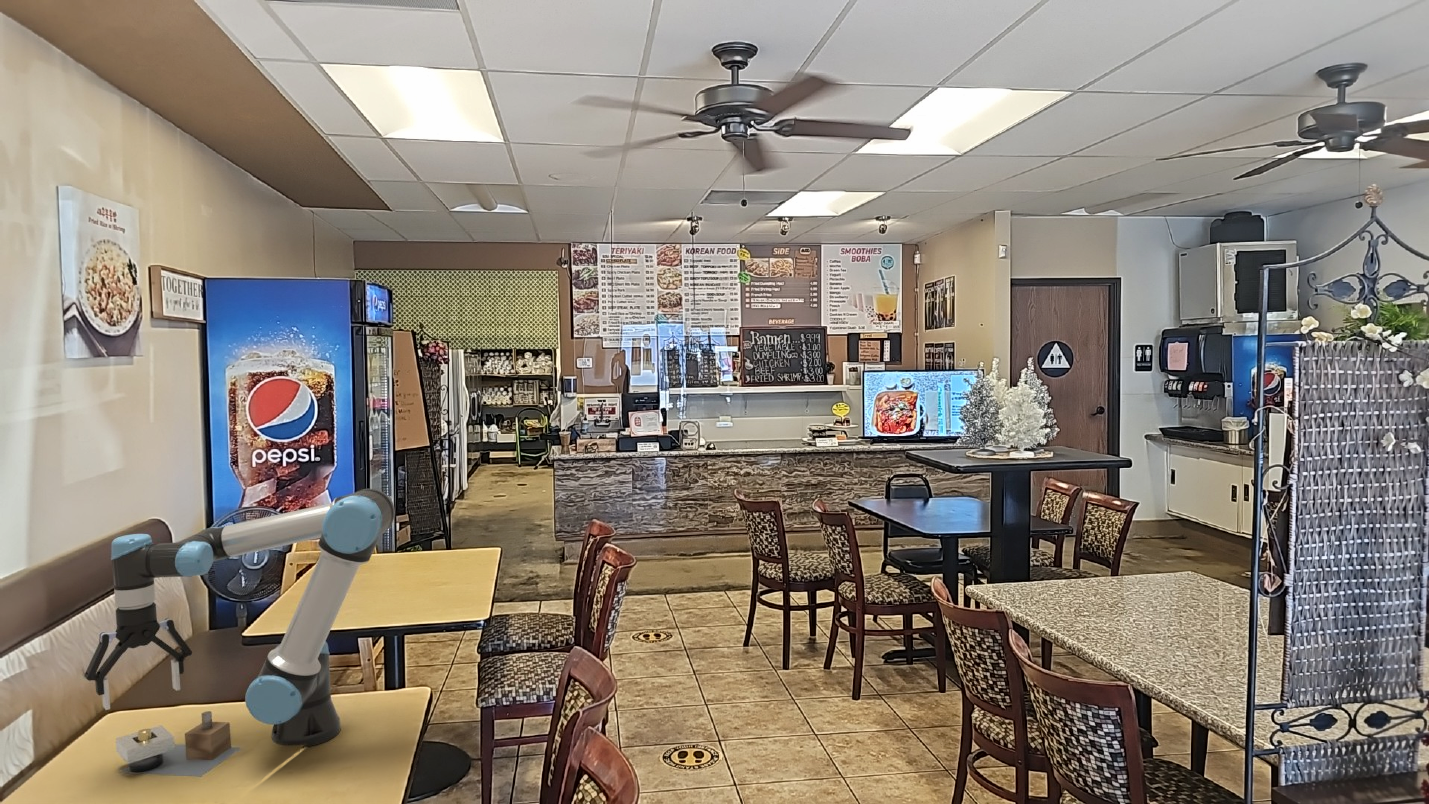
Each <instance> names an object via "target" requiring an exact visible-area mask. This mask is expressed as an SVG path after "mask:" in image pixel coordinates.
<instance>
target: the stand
mask: <svg viewBox="0 0 1429 804" xmlns="http://www.w3.org/2000/svg"><path fill="white" fill-rule="evenodd" d="M212 714H213V713H212V711H209V710H208V711H204V712H202V713H201V723H200V724H198V725H196V726H195V727H192V729H190V730H188V731H187V732H185V733H184V743H185V744H184V745H186V759H196V760H213V759H215V758H216V757H218V756H219V755H221V754H222V753H224V752H225V751H226V750H228V749H229V748H231V747H232V742H231V739H232V737H231V726H230V724H231V723H230V722H226V721H224V722H223V721H213V716H212Z"/></svg>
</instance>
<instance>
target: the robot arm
mask: <svg viewBox="0 0 1429 804" xmlns="http://www.w3.org/2000/svg"><path fill="white" fill-rule="evenodd" d="M395 515H396V512H395V506H394V503H393V501H392V499H391V498H390V497H389V495H387V494H386V493H385V492H384V491H381V490H379V489H375V488H364V489H359V490H358V491H355V492H352V493H350V494H347V495H343V496H337V497H335V498H334V499H333V501H332V502H330V503H326V504H321V505H316V506H312V507H306V508H302V509H298V510H294V511H290V512H289V511H288V512H284V513H279V514H275V515H271V516H265V517H262V518H257V519H252V520H247V521H243V522H237V523H234V524H229V525H225V526H220V527H219V526H213V527H208V528H205V529H202V530H200V531H199V532H197V533H195V534H193V535H191V536H189V537H185V538H184V539H182V540H179V541H176V542H166V543H165V542H163V543H157V542H156V543H154V542H153V540H152V537H151V535H150V534H147V533H133V534H126V535H122V536H119V537H116V538H114V539H113V541H111V558H110V561H111V565H112V566H111V567H112V577H113V578H112V579H113V589H114V590H113V591H114V606H115V607H116V609H115V621H116V623H115V624H116V630H115V632H104V631H103V632H101V633H100V634H99V639H98V644H97V646H96V649H95V651H94V653H93V655H92V657H91V660H90V662H89V665H88V666H87V668H86V670H85V673H84V675H83V676H84V678H85V679H86V680H87V681H89V682H90V681H94V683H95V693H96V694H97V695H98V696H101V699H102V701H101V702H102V708H103V709H105V711H107V710H111V701H110V700H111V699H110V688H109V687H110V686H109V679H108V678H107V677H106V676H107V675H108V674H109V673H110V671H111V670H112V668H113V667H114V666H115V664H116V663H117V662H118V661H119V659H120V657H122V655H123V654H124V653H125V652H126V651H127V650H128V649H136V648H138V647H144V646H145V647H146V646H148V645H149V644H151V642H152V643H153V644H156V646H158V647H159V648H160V649H162V650H163V651H165V652H166V653H167V654H169V655H171V656H172V657H173V658H174V659H171V660H170V665H171V667H170V668H171V681H172V682H171V683H172V689H174V690H175V691H176V692H177V691H180V690H181V677H180V675H182V674H184V671H185V669H184V668H185V665H184V661H185V659H186V658H187V657H188V656H192V654H193V651H192V650H191V648H190V647H189V645H188V644H187V643H186V641H185V640H184V639H183V638H182V636H181V635H180V634H179V632H178V630H177V629H176V627H175V622H174V620H173V619H172V618H169V617H167V618H165V619H164V620H161V621H159V622H158V617H157V615H158V614H157V604H156V603H155V600H156V590H155V579H159V578H179V577H187V578H193V577H195V576H196V577H197V576H203V575H206V574H207V573H208V572H209V571H210V569H211V568H212V566H213V563H214V562H216V561H221V560H225V559H230V558H233V557H237V556H243V555H247V554H251V553H252V554H253V553H256V552H260V551H265V550H270V549H274V548H280V547H283V546H288V545H293V544H297V543H302V542H307V541H311V540H316V539H319V540H318V543H317V546H318V549H319V550H320V555H319V557H318V560H317V562H316V564H315V567H314V568H313V571H312V573H311V576H310V577H309V580H308V582H307V584H306V586H305V589H304V591H303V592H302V593H303V594H302V595H301V598H300V600H299V602H298V605H297V607H296V609H295V611H294V613H293V615H292V618H291V620H290V622H289V624H288V627H287V629H286V631H285V633H284V636H283V638H282V640H281V643H280V644H278V645H277V646H276V647H275V648H274V649H272V650H270V651H269V652H268V654H267V656H266V659H265V661H264V662H263V666H262V668H261V670H260V671H259V673H258V676H257V677H256V678H255V679H254V680H253V681H251V683H250V684H249V686H248V688H247V690H246V692H245V697H244V701H245V706H246V708H247V710H248V711H249V714H250V715H251V717H253V718H254V719H255V720H257V721H259V722H260V723H262V724H267V725H273V726H272V729H271V740H272V742H273V743H275V744H278V745H282V746H301V748H302V749H304V748H308V747H313V746H316V745H320V744H323V743H325V742H327V741H329V740H331V739H333V738H334V737H336V736H337V735H339V733H340V731H341V720H340V717H339V715H338V713H337V710H336V708H335V705H334V703H333V700H332V693H331V691H332V690H331V689H332V688H331V673H330V672H331V670H330V668H331V667H330V654H331V653H330V652H329V645H328V642H327V641H326V640H327V638H328V637H329V634H330V631H331V630H332V627H333V626H334V624H335V623H334V622H335V620H336V618H337V617H338V614H339V611H340V609H341V607H342V604H343V603H344V601H345V598H346V596H347V594H348V592H349V589H350V588H351V585H352V582H354V581H353V580H354V578H355V576H356V574H357V571H358V569H359V567H360V566H362V565H363V564H366V563H368V562H369V561H370V559H371V557H372V555H373V553H374V552H375V551H374V550H375V548H376V546H377V544H378V542H379V539H380V538H381V536H383V535H384V534H385V533H386V532H387V531H388V530H389V529H390V528H391V526H392V525H393V523H394V519H395ZM160 629H162V630H164V631H166V632H167V633H168V634H169V636H170V637H171V638H172V640H173V641H174V642H175V643H176V645H177V646H178V648H179V649H180V652H178V650H175V649H174V648H173V647H171V646H170V645H169V644H167V643H166V642H165V641H163V640H162V639H160V638H159V637H158V636H156V635H157V633H158V632H159V631H160ZM114 639H117V640H118V642H117V644H116V645H115V647H114V649H113V650H112V651H111V653H110V654H109V655H108V656H107V658H106V660H105V661H104V662H103V663H102V661H103V659H104V657H105V654H106V652H107V651H108V649H109V644H111V643H112V642H113V640H114ZM101 663H102V665H101ZM100 665H101V666H100Z"/></svg>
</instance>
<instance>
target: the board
mask: <svg viewBox="0 0 1429 804" xmlns="http://www.w3.org/2000/svg"><path fill="white" fill-rule="evenodd" d="M174 746H175V749H174V750H171V751H168V752H165V753H163V764H162V765H161V766H159V767H157V768H155V769H153V770H150V771H146V772H140V773H134V772H131V771H130V769H129V765H128V766H126V767H124V768H123V769H121V770H120V771H118V774H139V775H158V776H161V775H162V776H178V777H199V778H200V777H203V776H204V775H205V774H207V773H208V772H210V771H211V770H213V769H214V768H215V767H217V766H218V765H220V764H222V763H223V762H224V761H225V760H227V759H229V758H230V757H231V756H233V755H235V754H236V753H237V752H238V751H240V750H242V749H243V747H241V746H231V748H229V749H228V750H226V751H225V752H224V753H222V754H221V755H219V756H218V757H216V758H215V759H213V760H196V759H186V745H185V744H177V743H174Z"/></svg>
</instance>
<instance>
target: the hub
mask: <svg viewBox="0 0 1429 804" xmlns="http://www.w3.org/2000/svg"><path fill="white" fill-rule="evenodd" d="M137 732H138V743H139V742H143V741H146V740H149V739H151V729H150V728H144V729H140V730H138V731H137ZM162 764H163V753H162V754H158V755H155V756H152V757H149V758H146V759H142V760H139V761H136V762H133V763H130V764H128V766H129V769H130V771H131V772H134V773H140V772H146V771H150V770H153V769H155V768H157V767H159V766H161V765H162ZM134 773H133V774H134Z"/></svg>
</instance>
